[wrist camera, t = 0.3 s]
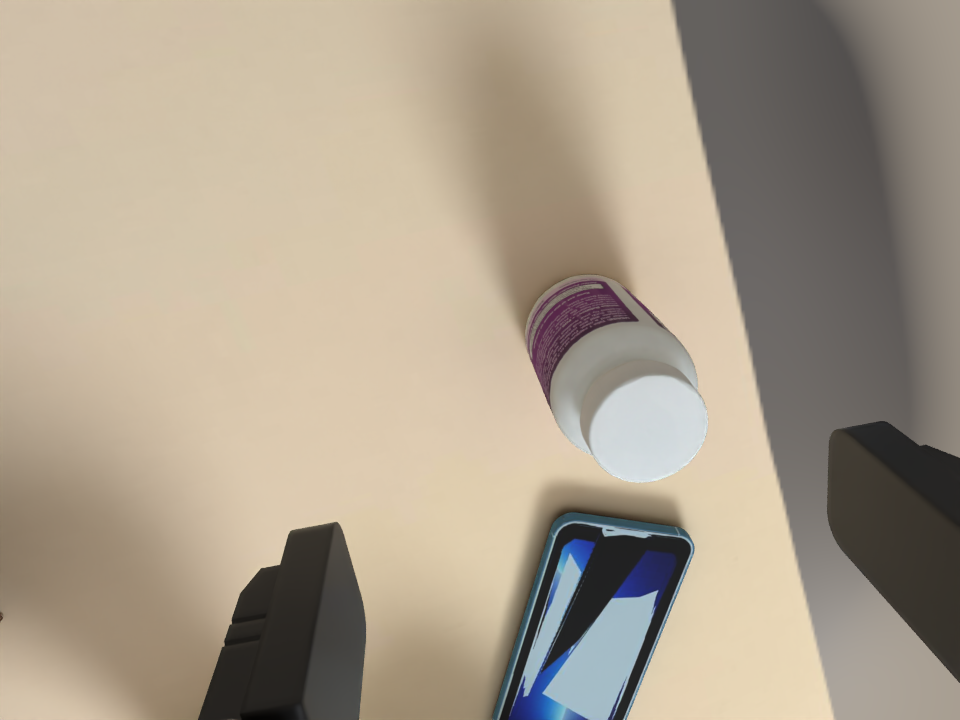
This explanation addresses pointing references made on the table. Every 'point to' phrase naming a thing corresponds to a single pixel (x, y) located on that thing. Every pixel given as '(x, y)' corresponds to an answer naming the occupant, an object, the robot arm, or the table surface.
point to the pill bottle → (616, 379)
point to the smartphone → (593, 618)
